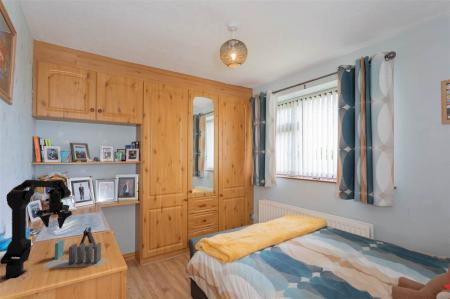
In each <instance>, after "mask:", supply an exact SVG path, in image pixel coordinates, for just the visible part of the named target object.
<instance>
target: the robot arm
mask: <svg viewBox="0 0 450 299" xmlns="http://www.w3.org/2000/svg"><path fill="white" fill-rule="evenodd" d="M37 188H45V189H48V190H49V191H47V192H46V195H48V202H47V203H46V206H48V208H43V209H39V210H37V211H36V216H38V218H39V219H40V220H41V222H43V225H44V226H45V228H49V224H50V217H51V216H52V215H55V216H57V218H56V220H57V223H58V228H59V229H62V228H63V225H64V224H65V221H66V220H67V219H68V218H69V217H70V216H73V215H72V214H73V211H72V210H69V209H70V205H69V204H64V202H63V201H62V200H64V199H67V198H69V197H71V195H72V191H71V189H69V188H68V186H66V184H65V182H64V179H58V178H57V179H56V178H55V179H53V178H52V179H47V180H36V179H25V180H24V181H23V182H22V183H20V184H18V185H16V186H14V187H13V188H12V189H11V190H9V192H8V193H7V194H6V202H7V203H6V204H7V206H8V207H9V208H10V209H11V241H10V242H9V243H8V245H7V247H6V252H5V253H4V255H2V257H1V259H0V264H1V265H5V275H4V276H2V277H1V279H2V280H7V279H17V278H19V277H21V276H22V275H24V274H25V273H26V272H27V271H28V270H26V269H25V270H24V266H25V264H24V263H25V262H27V261H28V260H29V258H30V253H31V251H32V239H31V238H27V232H26V230H27V228H26V227H27V225H26V224H27V223H26V222H27V219H26V218H27V206H29V205H30V203H31V198H32V196H34V195H35V193H36V189H37Z"/></svg>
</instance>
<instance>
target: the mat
mask: <svg viewBox="0 0 450 299" xmlns="http://www.w3.org/2000/svg"><path fill="white" fill-rule="evenodd" d="M107 259H108V258H107V257H101V260H100V261H99V262H98V263H97V264H93V260H94V258H93V260H92V261H91V262H90V263H89V264H85V260H84V261H83V262H82V263H81V264H80V265H77V261H76V262H75V263H73V264H72V265H69V258H68V259H66V258H65V259H56V260H55V259H51V260H49V262H47V263H46V264H44V265H43V266H41V269H48V268H49V269H50V268H53V269H54V268H55V269H56V268H75V267H76V268H77V267H81V268H82V267H100V266H102V265H103V263H104V262H105V261H106V260H107Z"/></svg>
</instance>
